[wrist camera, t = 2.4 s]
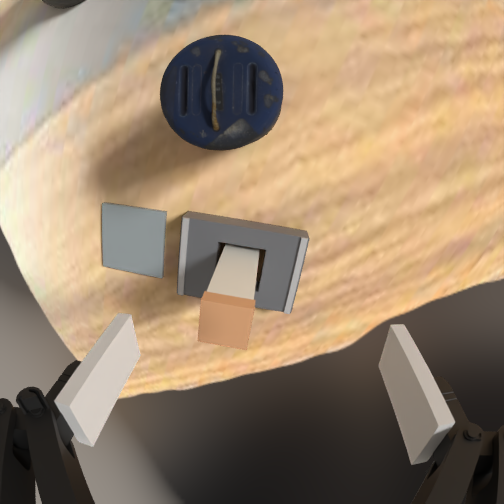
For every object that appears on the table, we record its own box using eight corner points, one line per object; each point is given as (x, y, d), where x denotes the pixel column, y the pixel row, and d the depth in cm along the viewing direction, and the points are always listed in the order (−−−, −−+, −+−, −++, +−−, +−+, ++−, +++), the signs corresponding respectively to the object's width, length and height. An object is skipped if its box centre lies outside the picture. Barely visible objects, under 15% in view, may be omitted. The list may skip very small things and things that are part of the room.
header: (182, 283, 45) (176, 294, 42) (188, 211, 41) (181, 217, 38) (290, 301, 45) (291, 314, 42) (306, 230, 41) (309, 239, 38)
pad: (105, 264, 45) (103, 266, 44) (104, 202, 41) (102, 203, 40) (163, 276, 45) (162, 278, 44) (166, 211, 41) (165, 212, 40)
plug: (221, 271, 44) (197, 341, 29) (226, 239, 42) (201, 299, 27) (255, 276, 44) (246, 349, 29) (261, 245, 42) (254, 309, 27)
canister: (289, 82, 34) (302, 42, 17) (267, 152, 37) (264, 168, 21) (214, 64, 33) (171, 17, 17) (194, 133, 37) (136, 137, 20)
